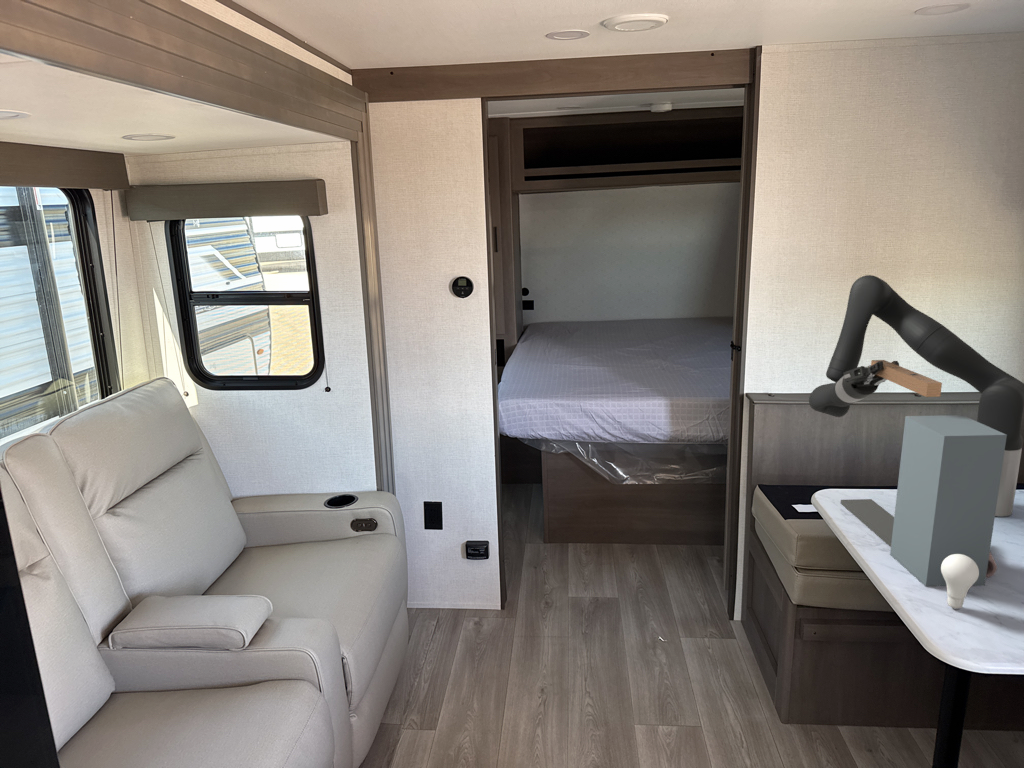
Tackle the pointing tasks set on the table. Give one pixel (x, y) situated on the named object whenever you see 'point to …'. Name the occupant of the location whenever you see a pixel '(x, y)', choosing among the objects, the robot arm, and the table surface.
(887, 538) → the rubber mat
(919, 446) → the tall grey-blue box
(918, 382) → the wooden plank with hole
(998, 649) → the table surface
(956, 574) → the lightbulb
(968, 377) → the robot arm
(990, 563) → the coil
